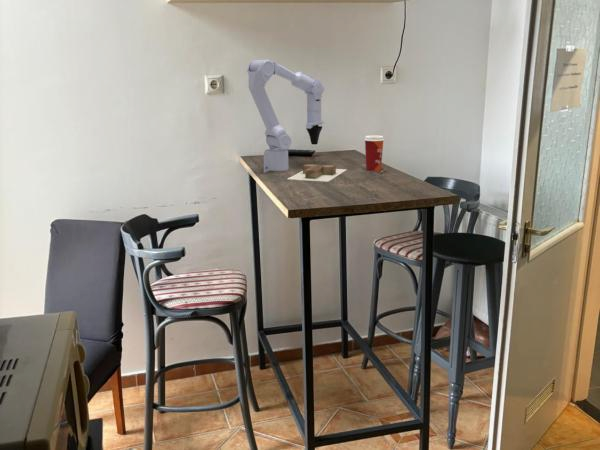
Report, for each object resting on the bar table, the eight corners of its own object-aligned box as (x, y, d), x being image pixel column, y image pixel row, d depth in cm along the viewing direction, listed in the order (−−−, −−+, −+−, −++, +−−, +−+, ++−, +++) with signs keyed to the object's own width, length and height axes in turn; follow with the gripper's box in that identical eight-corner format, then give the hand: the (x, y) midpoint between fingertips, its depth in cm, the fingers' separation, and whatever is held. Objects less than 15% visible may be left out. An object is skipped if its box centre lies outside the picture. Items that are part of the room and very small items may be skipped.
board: (286, 181, 218) (286, 179, 218) (308, 169, 239) (308, 167, 239) (328, 184, 212) (328, 181, 212) (347, 171, 234) (347, 169, 234)
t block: (295, 177, 220) (295, 169, 219) (306, 171, 231) (306, 164, 230) (326, 179, 216) (325, 171, 215) (335, 173, 226) (335, 165, 226)
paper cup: (382, 174, 229) (383, 137, 225) (362, 173, 230) (363, 137, 226) (384, 170, 236) (384, 135, 232) (364, 169, 238) (365, 134, 234)
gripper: (317, 112, 231) (317, 147, 235) (329, 109, 244) (329, 142, 248) (300, 112, 234) (301, 146, 238) (313, 108, 247) (313, 141, 251)
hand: (314, 144), depth 243 cm, fingers closed
